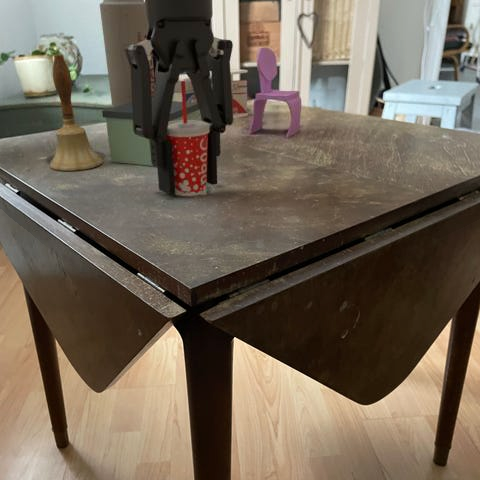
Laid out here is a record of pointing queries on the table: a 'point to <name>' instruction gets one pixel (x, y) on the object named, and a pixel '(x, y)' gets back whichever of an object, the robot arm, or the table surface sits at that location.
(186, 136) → the beverage cup
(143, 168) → the table surface
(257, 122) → the toy chair
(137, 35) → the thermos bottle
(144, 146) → the storage box
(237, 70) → the cigarette display
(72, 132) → the hand bell
